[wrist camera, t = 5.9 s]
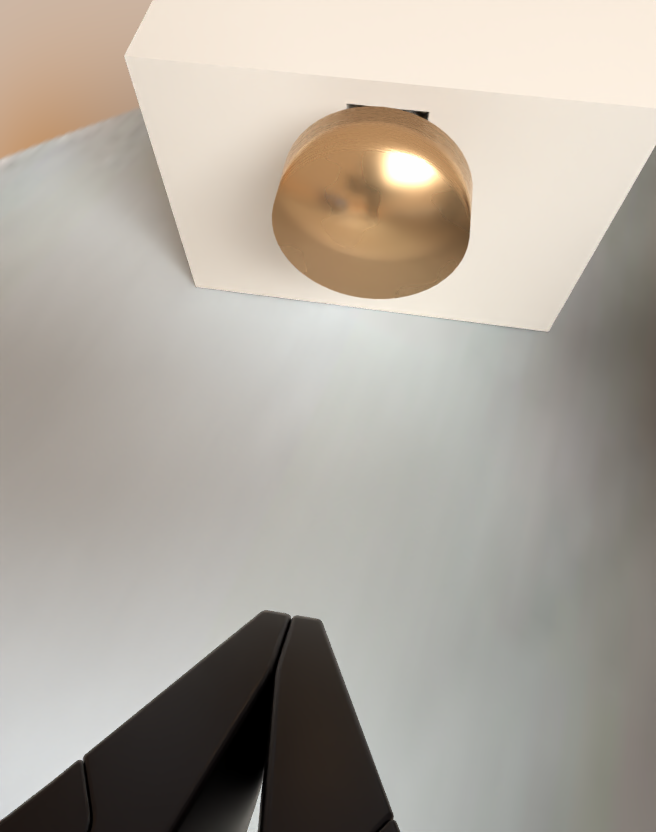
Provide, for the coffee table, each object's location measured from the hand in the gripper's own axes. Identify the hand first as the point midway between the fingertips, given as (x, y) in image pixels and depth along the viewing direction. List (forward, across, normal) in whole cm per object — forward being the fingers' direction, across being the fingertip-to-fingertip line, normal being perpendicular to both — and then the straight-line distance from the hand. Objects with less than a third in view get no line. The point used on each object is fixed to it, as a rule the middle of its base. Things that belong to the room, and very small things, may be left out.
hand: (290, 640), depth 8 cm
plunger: (+14, 0, -8) cm, 16 cm away
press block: (+19, 0, -6) cm, 20 cm away
